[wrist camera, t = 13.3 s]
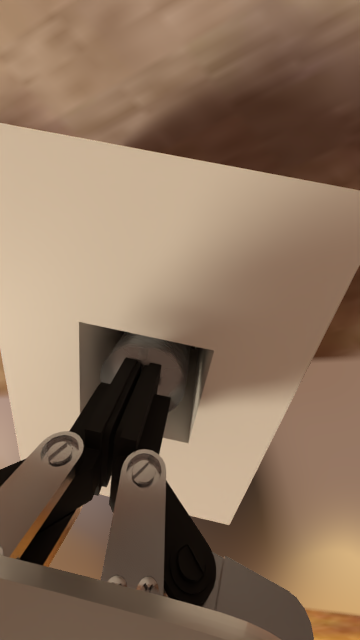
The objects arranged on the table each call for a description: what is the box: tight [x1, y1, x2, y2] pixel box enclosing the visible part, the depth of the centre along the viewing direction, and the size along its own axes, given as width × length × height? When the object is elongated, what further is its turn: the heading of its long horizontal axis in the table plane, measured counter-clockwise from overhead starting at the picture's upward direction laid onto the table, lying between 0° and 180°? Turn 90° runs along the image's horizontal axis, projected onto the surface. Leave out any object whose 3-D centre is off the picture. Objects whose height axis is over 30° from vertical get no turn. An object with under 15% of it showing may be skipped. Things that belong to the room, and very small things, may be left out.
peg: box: [100, 332, 191, 412], centre depth 15 cm, size 4×4×8 cm
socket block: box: [0, 123, 360, 525], centre depth 16 cm, size 18×13×10 cm
